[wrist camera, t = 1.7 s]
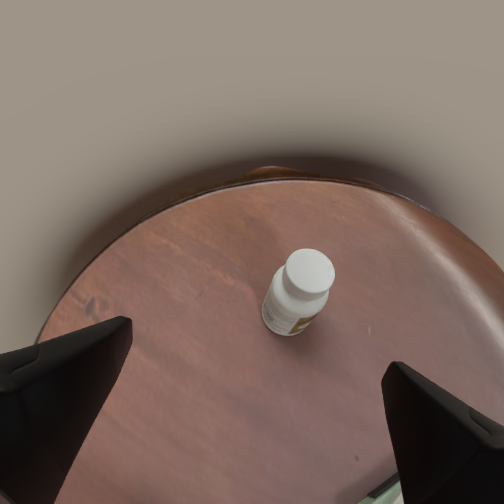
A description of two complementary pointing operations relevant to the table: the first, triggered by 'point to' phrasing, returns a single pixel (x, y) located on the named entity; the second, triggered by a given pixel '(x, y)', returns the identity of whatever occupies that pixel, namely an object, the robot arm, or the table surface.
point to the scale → (386, 493)
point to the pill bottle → (298, 292)
